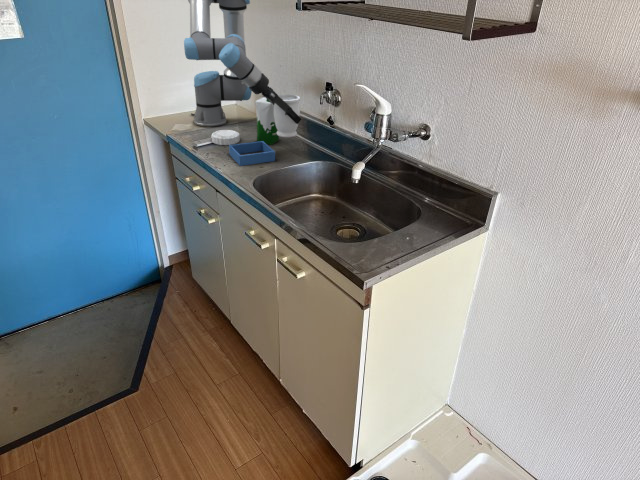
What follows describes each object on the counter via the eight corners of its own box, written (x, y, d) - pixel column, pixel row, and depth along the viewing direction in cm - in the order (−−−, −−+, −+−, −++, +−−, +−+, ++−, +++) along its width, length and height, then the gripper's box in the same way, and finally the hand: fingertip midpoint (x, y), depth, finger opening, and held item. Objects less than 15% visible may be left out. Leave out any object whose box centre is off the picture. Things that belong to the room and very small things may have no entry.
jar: (295, 139, 187) (296, 101, 179) (270, 137, 188) (270, 99, 181) (302, 131, 196) (302, 95, 188) (278, 129, 197) (277, 92, 190)
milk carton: (272, 145, 203) (271, 98, 193) (254, 142, 206) (252, 96, 196) (281, 140, 210) (281, 94, 200) (263, 137, 213) (262, 91, 203)
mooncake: (228, 147, 199) (228, 139, 198) (206, 142, 204) (205, 134, 202) (245, 139, 209) (244, 131, 207) (223, 135, 213) (222, 127, 211)
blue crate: (229, 154, 192) (228, 145, 190) (263, 150, 198) (262, 140, 196) (240, 166, 182) (239, 156, 180) (275, 161, 188) (275, 151, 186)
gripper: (239, 81, 185) (276, 117, 199) (259, 94, 167) (299, 133, 181) (251, 66, 184) (288, 103, 198) (273, 78, 167) (311, 118, 181)
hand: (293, 117), depth 190 cm, fingers closed on jar, 10 cm apart
